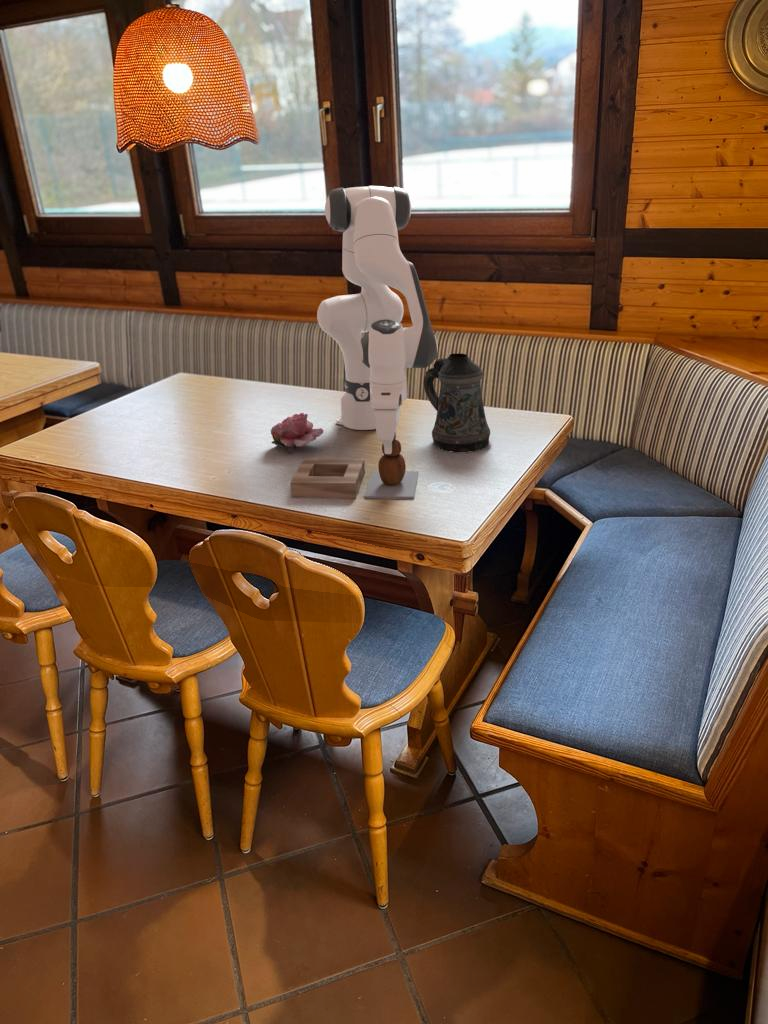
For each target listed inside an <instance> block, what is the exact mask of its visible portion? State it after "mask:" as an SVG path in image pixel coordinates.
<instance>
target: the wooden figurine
mask: <svg viewBox="0 0 768 1024" xmlns="http://www.w3.org/2000/svg"><path fill="white" fill-rule="evenodd" d="M381 452H382V456H381V457H380V458H379V461H378V466H377V468H378V471H379V474H380V478H381V480H382V482H383V483H384V484H385V485H396V484H399V483H400V482H401V481H402V480H403V477H404V475H405V471H407V470H406V461H405V458H404V456H403V455H402V454H401V452H402V444H401V441H400V440H398V439H395V435H394V439H393V441H392V453H391V454H385V453H384V445H383V443H382V444H381Z"/></svg>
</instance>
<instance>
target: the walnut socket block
mask: <svg viewBox="0 0 768 1024" xmlns="http://www.w3.org/2000/svg"><path fill="white" fill-rule="evenodd" d="M299 464H300V465H298V468H297V470H296V472H294V475H293V476H292V479H291V480H290V483H289V485H290V494H291V495H290V496H291V498H297V499H300V498H304V499H307V498H308V499H313V498H314V499H315V498H316V499H317V498H318V499H357V497H358V495H359V492H360V489H361V486H362V482H363V481H364V477H365V474H366V463H365V458H321V457H320V458H312V457H309V458H307V457H306V458H303V459H302V461H301V463H299Z"/></svg>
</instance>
